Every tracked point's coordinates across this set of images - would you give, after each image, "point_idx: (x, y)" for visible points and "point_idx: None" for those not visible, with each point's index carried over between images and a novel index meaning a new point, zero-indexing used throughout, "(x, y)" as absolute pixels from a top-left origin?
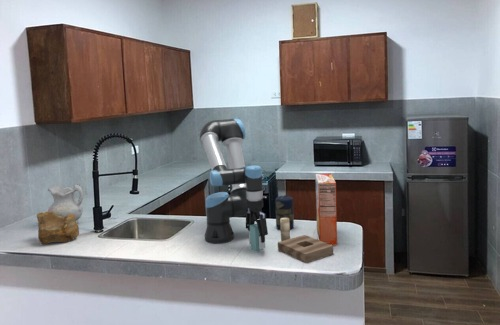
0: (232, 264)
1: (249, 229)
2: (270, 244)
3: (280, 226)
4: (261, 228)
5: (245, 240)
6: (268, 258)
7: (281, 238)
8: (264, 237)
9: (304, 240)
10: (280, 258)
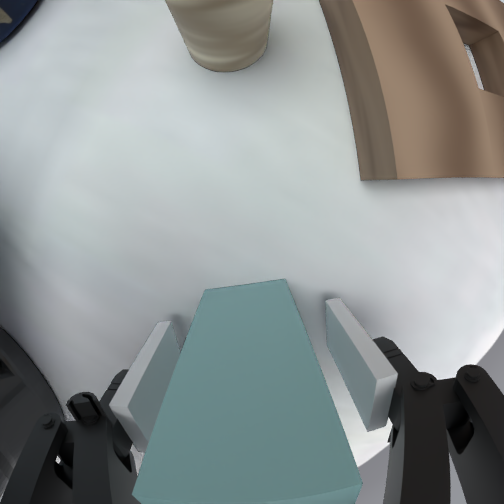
0: (358, 460)
1: (133, 462)
2: (187, 164)
3: (5, 25)
4: (464, 480)
5: (38, 298)
6: (431, 313)
7: (220, 51)
8: (411, 370)
9: (437, 2)
10: (469, 249)
